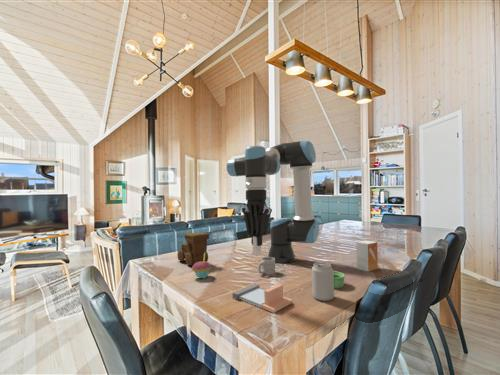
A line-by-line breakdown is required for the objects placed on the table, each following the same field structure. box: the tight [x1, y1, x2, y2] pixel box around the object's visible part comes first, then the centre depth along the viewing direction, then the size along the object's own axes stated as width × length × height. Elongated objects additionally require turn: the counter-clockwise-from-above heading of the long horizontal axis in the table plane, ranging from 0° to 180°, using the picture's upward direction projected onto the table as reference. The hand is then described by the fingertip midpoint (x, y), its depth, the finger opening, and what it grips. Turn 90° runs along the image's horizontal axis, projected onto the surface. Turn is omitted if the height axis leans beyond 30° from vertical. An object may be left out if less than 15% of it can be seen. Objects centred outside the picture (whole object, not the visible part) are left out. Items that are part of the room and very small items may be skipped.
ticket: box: [232, 283, 266, 309], centre depth 92 cm, size 13×12×2 cm
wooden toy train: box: [176, 231, 210, 266], centre depth 140 cm, size 20×11×17 cm, turn 39°
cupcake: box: [191, 253, 212, 279], centre depth 116 cm, size 9×8×12 cm
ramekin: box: [333, 270, 346, 289], centre depth 103 cm, size 9×9×4 cm
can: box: [311, 261, 335, 302], centre depth 91 cm, size 8×8×12 cm
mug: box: [257, 256, 276, 276], centre depth 119 cm, size 10×7×7 cm, turn 135°
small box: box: [355, 240, 379, 273], centre depth 122 cm, size 8×6×13 cm
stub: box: [261, 283, 293, 314], centre depth 85 cm, size 5×10×6 cm, turn 136°
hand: (257, 254), depth 91 cm, fingers closed
